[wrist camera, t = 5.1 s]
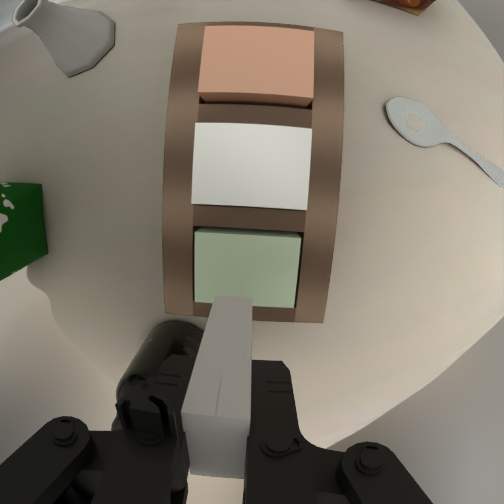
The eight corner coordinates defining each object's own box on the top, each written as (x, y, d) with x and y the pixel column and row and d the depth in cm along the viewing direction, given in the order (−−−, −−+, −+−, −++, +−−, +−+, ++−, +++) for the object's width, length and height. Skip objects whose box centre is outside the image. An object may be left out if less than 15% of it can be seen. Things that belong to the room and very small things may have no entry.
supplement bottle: (140, 319, 27) (82, 398, 15) (210, 318, 26) (181, 410, 15) (155, 376, 28) (116, 461, 17) (219, 377, 28) (202, 473, 16)
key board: (189, 44, 20) (178, 24, 16) (331, 51, 20) (342, 32, 16) (177, 293, 26) (165, 313, 22) (314, 302, 26) (323, 322, 22)
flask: (107, 3, 19) (59, -43, 9) (125, 47, 20) (70, 0, 11) (52, 43, 20) (-7, 14, 10) (65, 90, 21) (-4, 67, 12)
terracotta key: (213, 48, 19) (205, 26, 15) (305, 53, 19) (314, 31, 15) (208, 106, 20) (197, 92, 16) (303, 111, 20) (313, 98, 16)
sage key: (205, 222, 24) (194, 231, 20) (293, 227, 23) (300, 238, 20) (204, 282, 25) (194, 301, 21) (288, 287, 25) (293, 307, 21)
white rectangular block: (206, 132, 21) (195, 122, 17) (302, 137, 20) (312, 128, 17) (202, 198, 22) (191, 203, 18) (298, 204, 22) (306, 210, 18)
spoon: (384, 87, 21) (391, 82, 20) (522, 178, 22) (531, 179, 21) (374, 127, 22) (381, 125, 21) (515, 211, 24) (524, 213, 22)
